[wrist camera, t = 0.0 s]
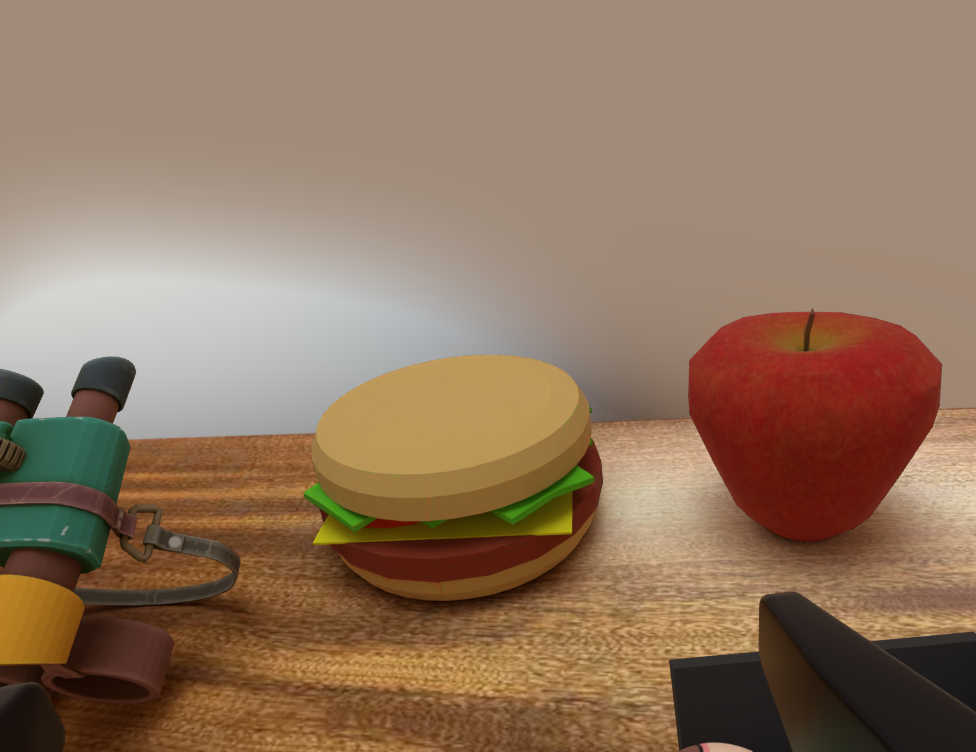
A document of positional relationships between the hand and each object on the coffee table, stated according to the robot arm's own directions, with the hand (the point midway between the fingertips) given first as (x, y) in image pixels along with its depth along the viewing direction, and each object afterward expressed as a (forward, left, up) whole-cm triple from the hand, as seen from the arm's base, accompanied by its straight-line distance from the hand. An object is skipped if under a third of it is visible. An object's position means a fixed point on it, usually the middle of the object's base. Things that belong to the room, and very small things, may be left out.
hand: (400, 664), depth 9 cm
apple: (+25, -16, -18) cm, 34 cm away
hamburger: (+29, +2, -18) cm, 34 cm away
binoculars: (+19, +20, -18) cm, 32 cm away
